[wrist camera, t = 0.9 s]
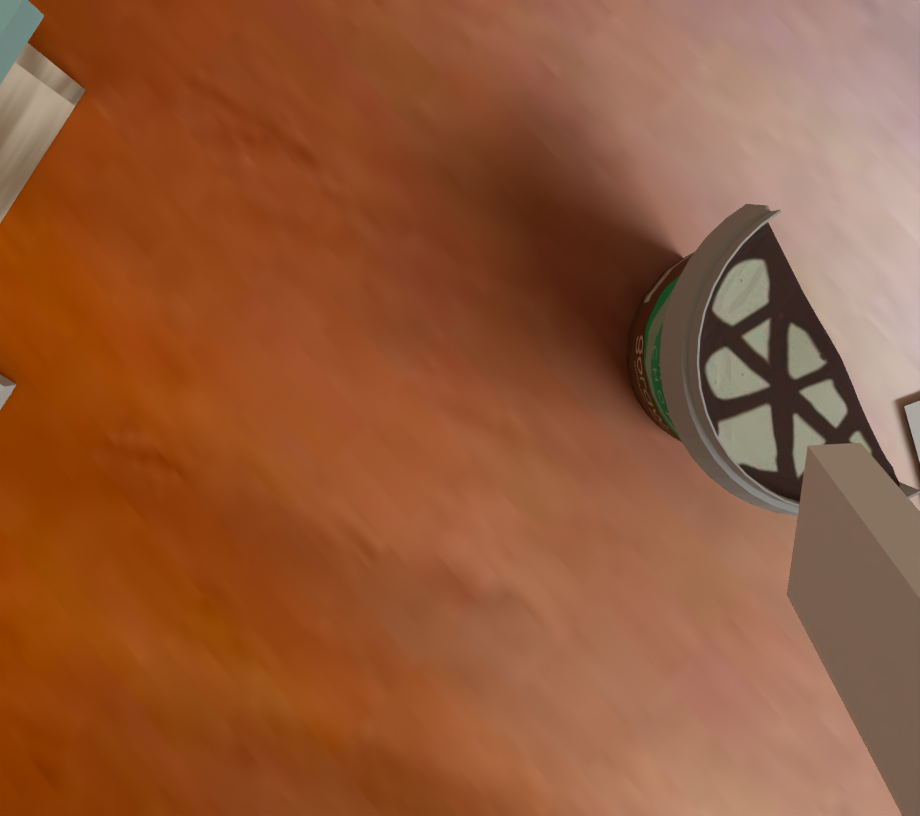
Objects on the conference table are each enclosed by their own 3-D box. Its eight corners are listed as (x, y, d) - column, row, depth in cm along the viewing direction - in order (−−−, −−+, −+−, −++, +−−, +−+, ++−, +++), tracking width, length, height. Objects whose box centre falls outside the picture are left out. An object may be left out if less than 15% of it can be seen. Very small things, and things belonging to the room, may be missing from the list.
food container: (551, 296, 38) (616, 287, 28) (668, 228, 38) (773, 195, 28) (677, 526, 39) (781, 594, 30) (788, 459, 40) (927, 505, 30)
